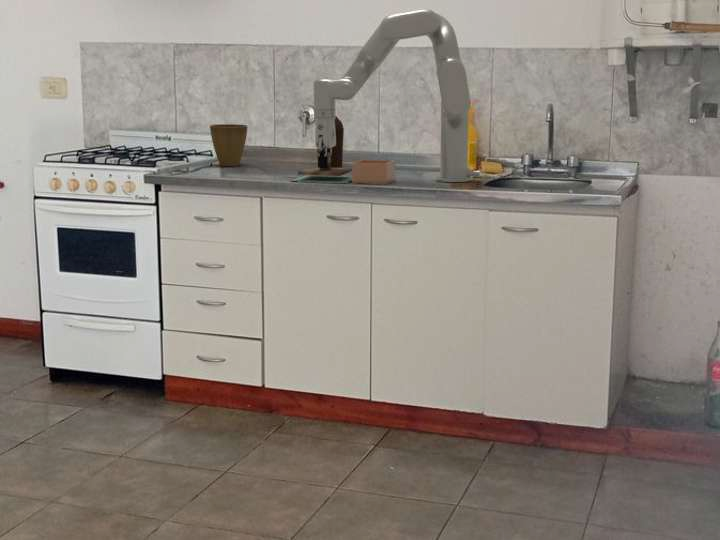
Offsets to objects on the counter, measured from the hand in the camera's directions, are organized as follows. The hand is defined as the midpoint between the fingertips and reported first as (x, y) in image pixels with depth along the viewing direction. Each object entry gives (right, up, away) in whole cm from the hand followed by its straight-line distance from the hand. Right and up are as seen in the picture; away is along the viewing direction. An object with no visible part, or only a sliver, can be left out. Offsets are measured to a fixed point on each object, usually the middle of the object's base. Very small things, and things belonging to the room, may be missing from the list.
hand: (325, 166), depth 370 cm
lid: (0, -2, 0) cm, 2 cm away
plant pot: (-40, +5, +49) cm, 63 cm away
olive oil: (+1, +3, +37) cm, 37 cm away
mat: (0, -5, +1) cm, 5 cm away
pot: (+17, -6, -4) cm, 19 cm away
